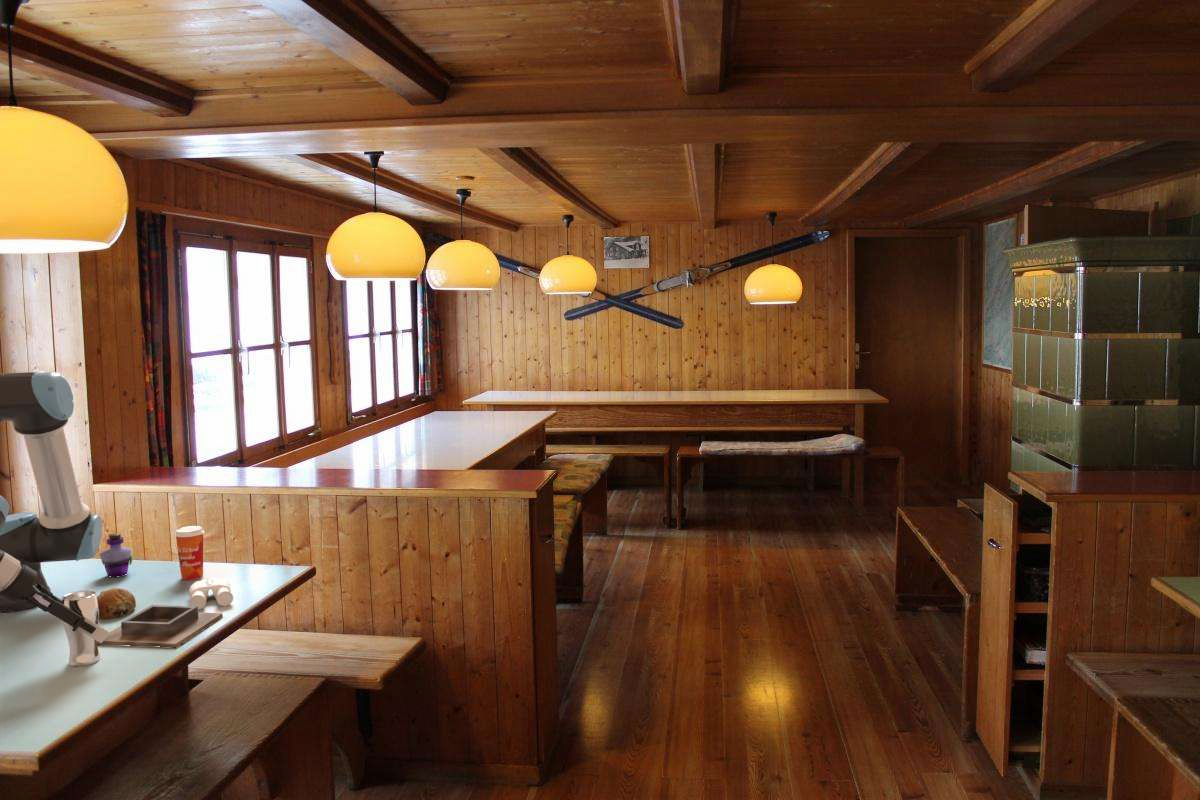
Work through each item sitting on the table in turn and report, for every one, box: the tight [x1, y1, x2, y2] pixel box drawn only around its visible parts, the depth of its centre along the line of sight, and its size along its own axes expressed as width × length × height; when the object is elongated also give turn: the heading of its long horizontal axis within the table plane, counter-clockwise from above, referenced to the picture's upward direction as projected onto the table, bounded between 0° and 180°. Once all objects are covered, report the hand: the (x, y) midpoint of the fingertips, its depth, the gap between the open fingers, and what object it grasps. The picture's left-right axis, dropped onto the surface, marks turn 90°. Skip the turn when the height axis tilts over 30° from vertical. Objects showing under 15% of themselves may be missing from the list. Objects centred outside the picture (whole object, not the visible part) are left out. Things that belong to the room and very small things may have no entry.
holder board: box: [97, 604, 224, 648], centre depth 221 cm, size 20×20×4 cm
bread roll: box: [96, 587, 137, 620], centre depth 234 cm, size 10×10×8 cm
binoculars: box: [188, 577, 234, 611], centre depth 244 cm, size 10×16×5 cm, turn 25°
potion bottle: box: [99, 532, 133, 578], centre depth 265 cm, size 9×9×12 cm
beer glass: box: [61, 589, 101, 667], centre depth 202 cm, size 7×7×15 cm
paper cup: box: [174, 525, 205, 581], centre depth 262 cm, size 8×8×14 cm
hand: (100, 632), depth 205 cm, fingers closed on beer glass, 7 cm apart
